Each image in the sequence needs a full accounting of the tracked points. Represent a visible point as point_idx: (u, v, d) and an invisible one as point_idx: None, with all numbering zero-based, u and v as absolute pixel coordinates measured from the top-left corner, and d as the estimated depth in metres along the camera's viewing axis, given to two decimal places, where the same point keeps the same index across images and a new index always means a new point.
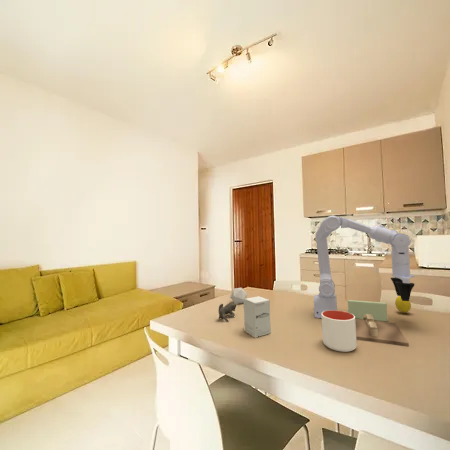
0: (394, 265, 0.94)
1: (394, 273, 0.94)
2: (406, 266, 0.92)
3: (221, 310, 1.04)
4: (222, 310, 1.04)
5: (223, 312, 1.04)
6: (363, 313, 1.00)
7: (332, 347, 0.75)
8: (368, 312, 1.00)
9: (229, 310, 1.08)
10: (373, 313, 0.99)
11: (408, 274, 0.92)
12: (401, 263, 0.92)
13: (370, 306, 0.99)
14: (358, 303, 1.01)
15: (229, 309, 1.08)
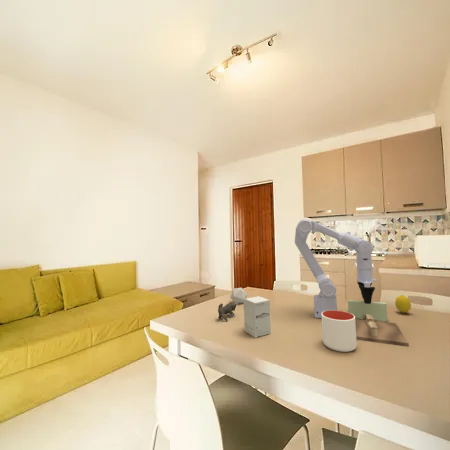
0: (358, 270, 1.01)
1: (358, 278, 1.01)
2: (368, 271, 0.99)
3: (221, 310, 1.04)
4: (222, 310, 1.04)
5: (223, 312, 1.04)
6: (363, 313, 1.00)
7: (332, 347, 0.75)
8: (368, 312, 1.00)
9: (229, 310, 1.08)
10: (373, 313, 0.99)
11: (370, 279, 0.99)
12: (365, 268, 0.99)
13: (370, 306, 0.99)
14: (358, 303, 1.01)
15: (229, 309, 1.08)
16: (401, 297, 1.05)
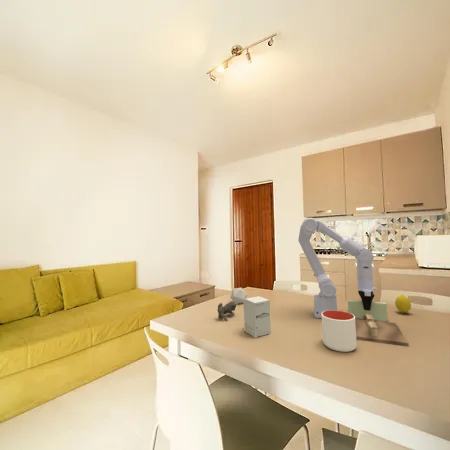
0: (359, 278, 1.01)
1: (359, 286, 1.01)
2: (369, 279, 0.98)
3: (220, 309, 1.05)
4: (221, 309, 1.05)
5: (222, 311, 1.05)
6: (363, 313, 1.00)
7: (332, 347, 0.75)
8: (368, 312, 1.00)
9: (229, 309, 1.08)
10: (373, 313, 0.99)
11: (371, 287, 0.98)
12: (365, 277, 0.99)
13: None
14: (358, 303, 1.01)
15: (229, 308, 1.09)
16: (401, 297, 1.05)
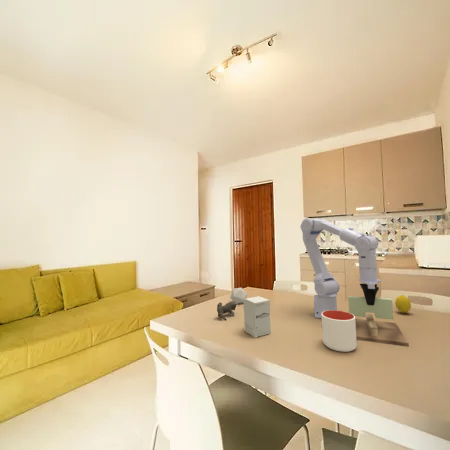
0: (361, 269, 0.90)
1: (361, 278, 0.90)
2: (372, 271, 0.88)
3: (219, 309, 1.06)
4: (220, 309, 1.06)
5: (221, 311, 1.06)
6: (366, 310, 0.89)
7: (332, 347, 0.75)
8: (371, 309, 0.89)
9: (228, 309, 1.09)
10: (377, 310, 0.88)
11: (375, 279, 0.88)
12: (362, 267, 0.89)
13: None
14: (360, 299, 0.90)
15: (228, 308, 1.09)
16: (401, 297, 1.05)
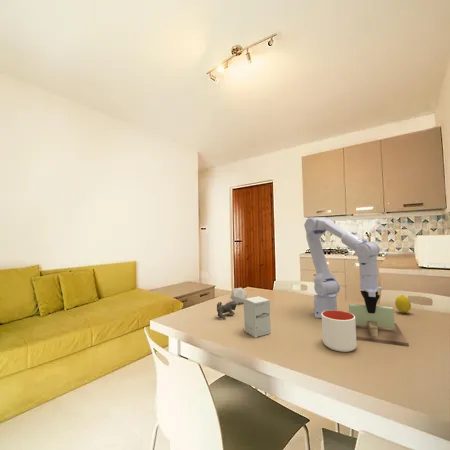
0: (361, 277, 0.88)
1: (362, 285, 0.88)
2: (373, 278, 0.86)
3: (219, 308, 1.06)
4: (220, 308, 1.06)
5: (221, 310, 1.06)
6: (366, 319, 0.88)
7: (332, 347, 0.75)
8: (372, 318, 0.87)
9: (228, 309, 1.10)
10: (378, 319, 0.86)
11: (376, 286, 0.86)
12: (363, 274, 0.88)
13: None
14: (361, 308, 0.89)
15: (228, 308, 1.10)
16: (401, 297, 1.05)
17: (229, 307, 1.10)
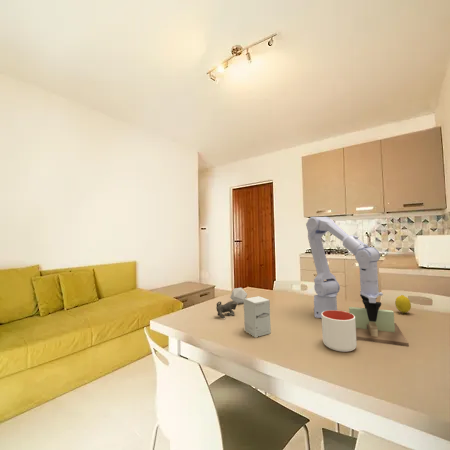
0: (362, 282, 0.88)
1: (362, 291, 0.88)
2: (374, 284, 0.86)
3: (218, 307, 1.07)
4: (219, 308, 1.07)
5: (220, 310, 1.07)
6: (367, 322, 0.88)
7: (332, 347, 0.75)
8: (372, 321, 0.87)
9: (228, 308, 1.10)
10: (378, 322, 0.86)
11: (376, 292, 0.86)
12: (363, 280, 0.88)
13: None
14: (361, 311, 0.89)
15: (228, 307, 1.10)
16: (401, 297, 1.05)
17: (229, 307, 1.11)
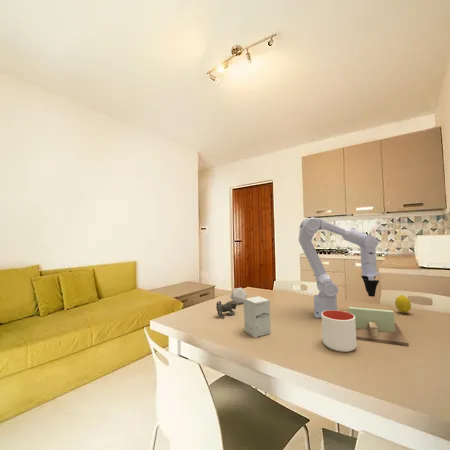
0: (362, 264, 1.04)
1: (362, 271, 1.04)
2: (372, 265, 1.01)
3: (218, 307, 1.08)
4: (219, 307, 1.08)
5: (220, 309, 1.08)
6: (367, 322, 0.88)
7: (332, 347, 0.75)
8: (372, 321, 0.87)
9: (228, 308, 1.11)
10: (378, 322, 0.86)
11: (374, 272, 1.01)
12: (371, 262, 1.01)
13: (375, 314, 0.87)
14: (361, 311, 0.89)
15: (228, 307, 1.11)
16: (401, 297, 1.05)
17: (229, 306, 1.11)
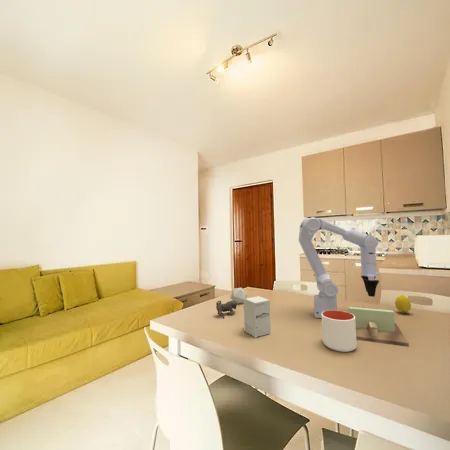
0: (362, 264, 1.04)
1: (362, 271, 1.04)
2: (372, 265, 1.01)
3: (218, 307, 1.09)
4: (219, 307, 1.09)
5: (220, 309, 1.08)
6: (367, 322, 0.88)
7: (332, 347, 0.75)
8: (372, 321, 0.87)
9: (228, 308, 1.11)
10: (378, 322, 0.86)
11: (374, 272, 1.01)
12: (371, 262, 1.02)
13: (375, 314, 0.87)
14: (361, 311, 0.89)
15: (228, 307, 1.11)
16: (401, 297, 1.05)
17: (229, 306, 1.12)
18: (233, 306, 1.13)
